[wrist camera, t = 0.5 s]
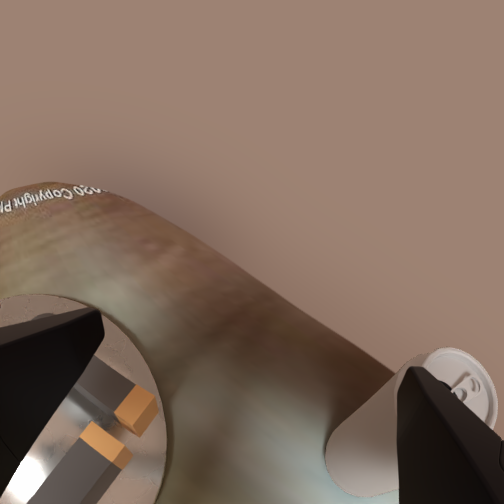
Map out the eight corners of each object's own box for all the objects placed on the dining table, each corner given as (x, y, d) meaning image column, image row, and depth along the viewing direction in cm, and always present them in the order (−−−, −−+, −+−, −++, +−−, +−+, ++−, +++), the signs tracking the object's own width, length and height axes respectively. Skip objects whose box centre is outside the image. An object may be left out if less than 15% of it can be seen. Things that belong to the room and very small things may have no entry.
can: (308, 432, 20) (387, 351, 13) (381, 408, 22) (467, 325, 15) (337, 512, 15) (451, 481, 7) (412, 476, 17) (521, 415, 9)
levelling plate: (69, 615, 3) (61, 620, 2) (-99, 399, 8) (-108, 390, 7) (226, 393, 22) (228, 384, 21) (35, 267, 27) (31, 256, 26)
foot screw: (63, 565, 6) (40, 570, 4) (22, 530, 7) (-5, 526, 5) (141, 461, 15) (132, 450, 13) (99, 432, 16) (84, 414, 14)
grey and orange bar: (33, 359, 18) (16, 333, 16) (59, 333, 21) (47, 305, 19) (136, 446, 16) (127, 431, 14) (163, 409, 19) (159, 388, 16)
